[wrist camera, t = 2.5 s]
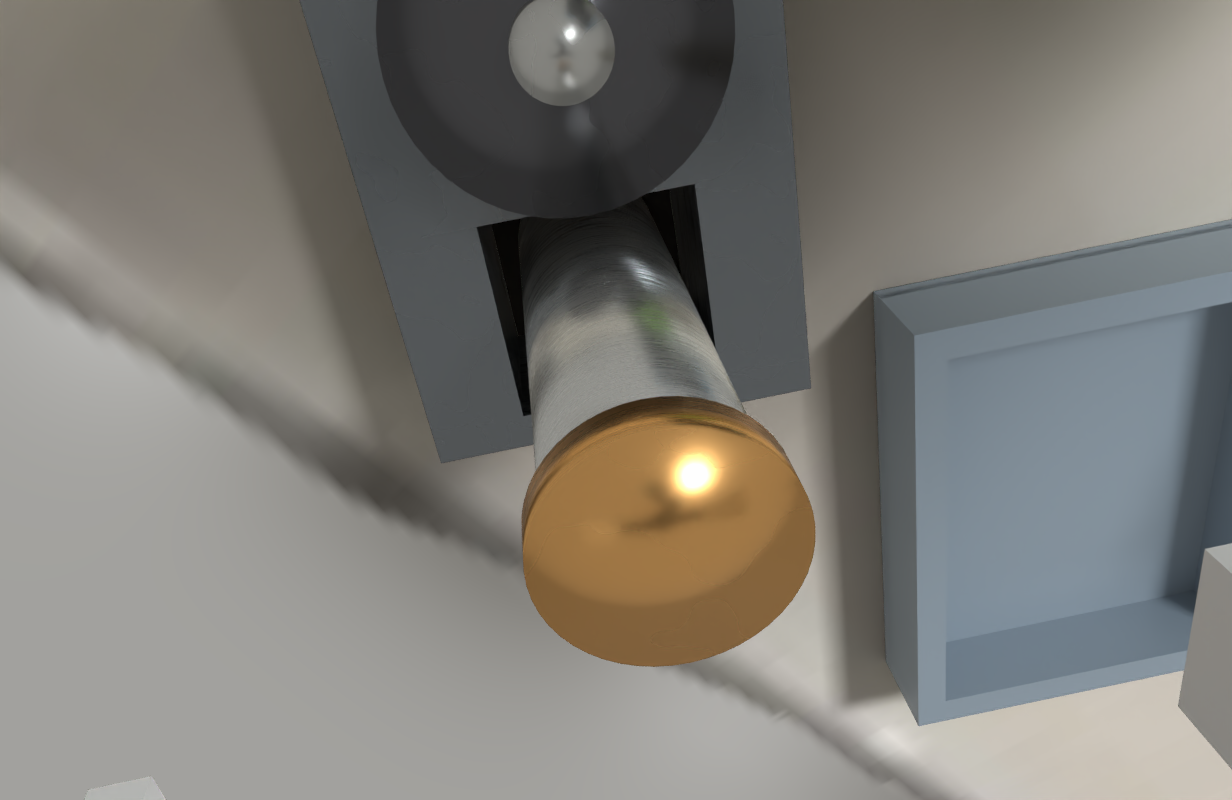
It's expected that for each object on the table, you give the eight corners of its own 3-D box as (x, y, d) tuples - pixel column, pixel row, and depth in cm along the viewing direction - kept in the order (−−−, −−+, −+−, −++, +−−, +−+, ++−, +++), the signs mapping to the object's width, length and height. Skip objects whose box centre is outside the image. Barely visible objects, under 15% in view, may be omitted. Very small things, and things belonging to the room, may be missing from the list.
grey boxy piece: (301, -135, 23) (221, -140, 16) (713, -213, 23) (808, -252, 16) (448, 376, 30) (435, 526, 23) (763, 313, 30) (845, 442, 23)
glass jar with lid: (491, 177, 27) (493, 464, 14) (652, 146, 27) (805, 400, 14) (526, 324, 29) (555, 690, 16) (674, 295, 29) (823, 634, 16)
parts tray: (873, 291, 30) (914, 335, 27) (1275, 210, 30) (1357, 245, 27) (885, 661, 38) (918, 726, 35) (1204, 594, 38) (1263, 653, 35)
